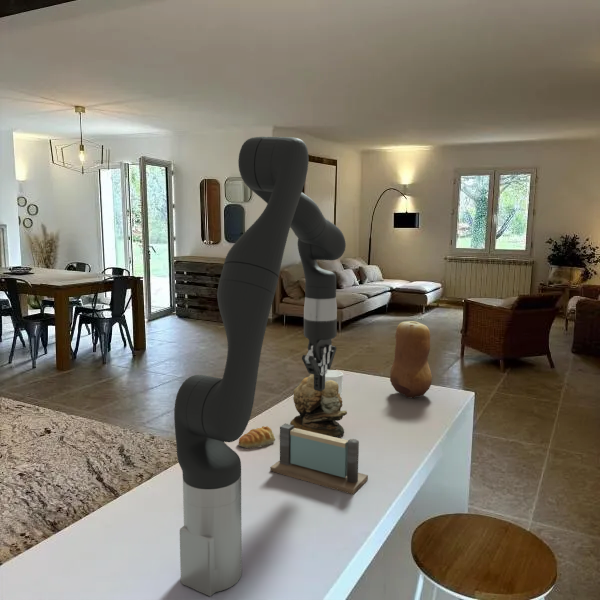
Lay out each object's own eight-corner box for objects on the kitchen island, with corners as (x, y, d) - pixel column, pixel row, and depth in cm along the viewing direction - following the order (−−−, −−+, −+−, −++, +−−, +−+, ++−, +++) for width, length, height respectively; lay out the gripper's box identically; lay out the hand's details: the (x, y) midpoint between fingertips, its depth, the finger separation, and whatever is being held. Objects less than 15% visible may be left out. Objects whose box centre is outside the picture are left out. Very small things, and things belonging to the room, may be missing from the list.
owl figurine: (356, 432, 151) (358, 372, 148) (331, 445, 142) (332, 382, 139) (306, 416, 162) (307, 360, 160) (279, 428, 153) (280, 369, 151)
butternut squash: (436, 394, 184) (440, 321, 180) (423, 405, 173) (426, 327, 169) (397, 387, 191) (400, 316, 188) (382, 397, 180) (384, 322, 176)
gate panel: (344, 478, 120) (345, 443, 119) (290, 463, 127) (290, 430, 126) (348, 474, 122) (349, 440, 121) (294, 460, 129) (294, 427, 128)
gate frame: (352, 494, 116) (354, 449, 115) (270, 471, 127) (270, 429, 125) (367, 479, 123) (369, 437, 122) (288, 458, 134) (288, 419, 132)
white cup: (314, 406, 171) (315, 375, 169) (321, 398, 178) (321, 368, 177) (339, 409, 169) (340, 377, 167) (344, 401, 176) (345, 371, 175)
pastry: (247, 452, 137) (247, 438, 137) (232, 444, 142) (232, 430, 142) (277, 443, 143) (277, 429, 143) (261, 435, 148) (261, 422, 148)
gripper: (321, 323, 117) (320, 400, 120) (347, 313, 129) (346, 385, 131) (291, 319, 121) (290, 394, 124) (319, 310, 132) (318, 380, 135)
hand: (319, 389), depth 127 cm, fingers closed
